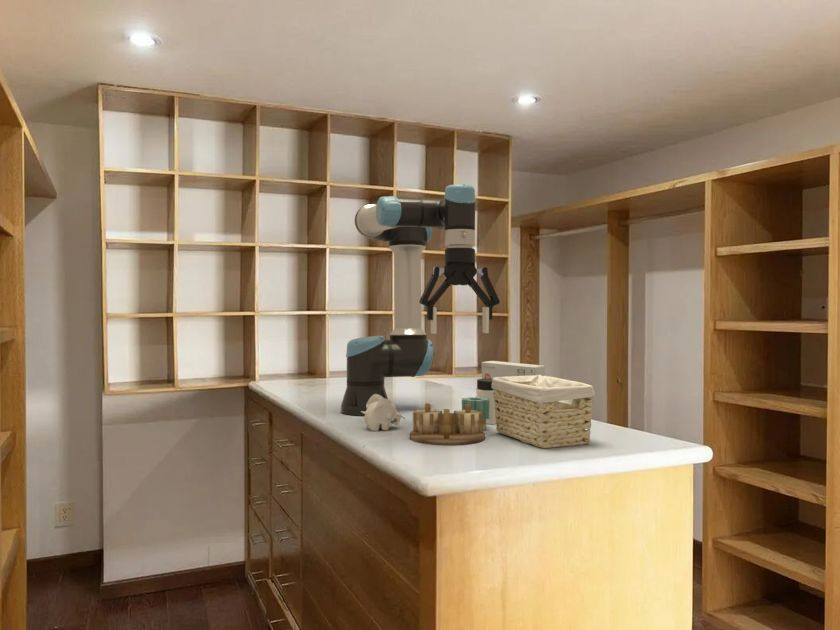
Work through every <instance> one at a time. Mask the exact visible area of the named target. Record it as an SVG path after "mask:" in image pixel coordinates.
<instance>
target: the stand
mask: <svg viewBox="0 0 840 630" xmlns="http://www.w3.org/2000/svg"><path fill="white" fill-rule="evenodd" d="M486 430H487V424H486V419H483V431H486Z"/></svg>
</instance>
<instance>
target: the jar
mask: <svg viewBox="0 0 840 630" xmlns="http://www.w3.org/2000/svg"><path fill="white" fill-rule="evenodd" d="M492 379H493V378H485V379H482V378H478V379H477V380H476V398H477V397H478V398H480V397H483V398H489V419H486V425H496V418H495V408H494V407H495V404H494V397H493V389H492Z"/></svg>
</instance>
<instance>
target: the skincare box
mask: <svg viewBox="0 0 840 630" xmlns="http://www.w3.org/2000/svg"><path fill="white" fill-rule="evenodd" d="M534 375H541V376H546V365H542V364H541V365H540V364H531V363H519V362H509V361H499V360H488V361H487V360H486V361H482V362H481V379H485V378H494V377H510V376H534Z"/></svg>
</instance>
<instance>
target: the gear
mask: <svg viewBox="0 0 840 630" xmlns="http://www.w3.org/2000/svg"><path fill="white" fill-rule="evenodd" d="M465 404H471V410H476V411H482V412H483V419H489V398H483V397H480V398H478V397H477V396H476V397H471V396H470V397H462V398H461V410H465Z"/></svg>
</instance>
